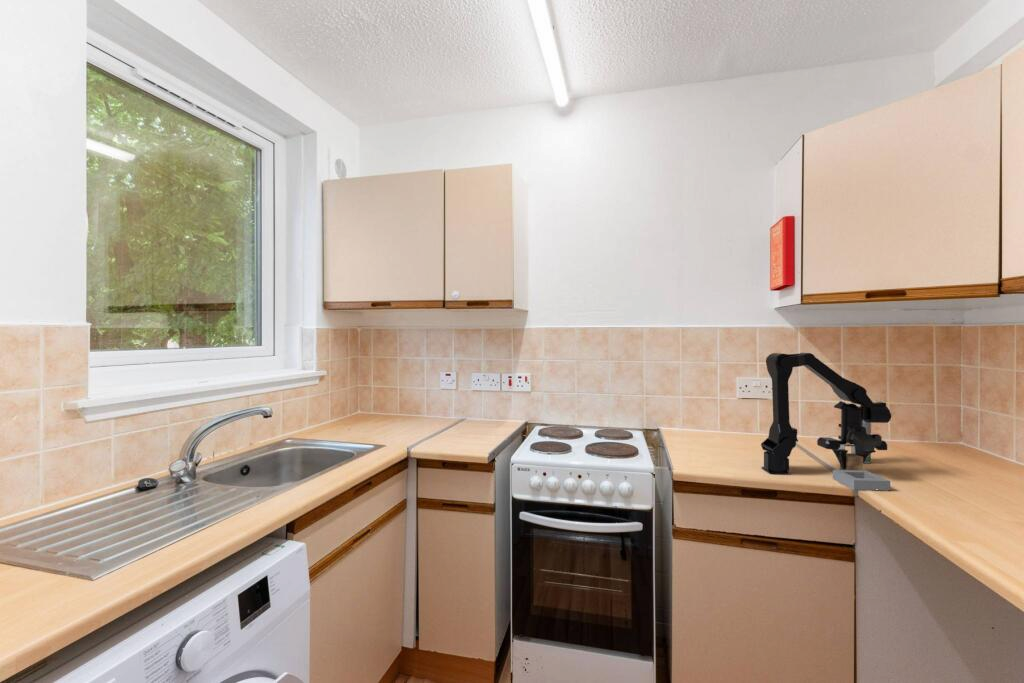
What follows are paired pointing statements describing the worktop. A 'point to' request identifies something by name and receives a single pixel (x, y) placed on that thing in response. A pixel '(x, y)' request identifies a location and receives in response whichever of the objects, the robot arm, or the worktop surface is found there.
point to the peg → (853, 462)
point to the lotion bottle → (868, 431)
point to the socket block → (861, 480)
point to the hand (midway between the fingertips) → (851, 469)
